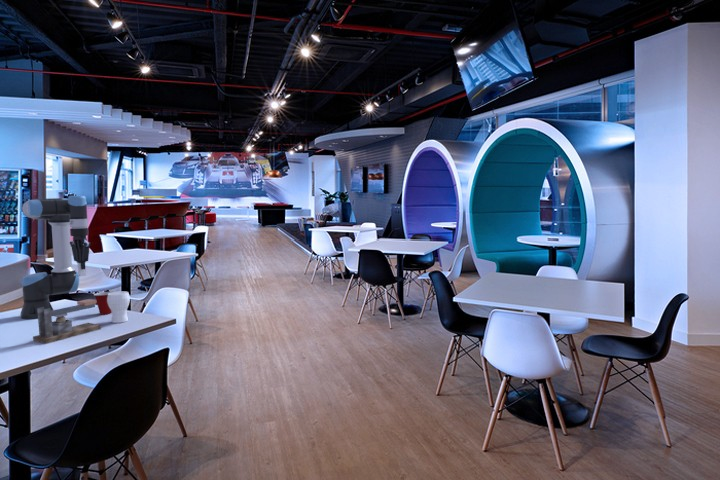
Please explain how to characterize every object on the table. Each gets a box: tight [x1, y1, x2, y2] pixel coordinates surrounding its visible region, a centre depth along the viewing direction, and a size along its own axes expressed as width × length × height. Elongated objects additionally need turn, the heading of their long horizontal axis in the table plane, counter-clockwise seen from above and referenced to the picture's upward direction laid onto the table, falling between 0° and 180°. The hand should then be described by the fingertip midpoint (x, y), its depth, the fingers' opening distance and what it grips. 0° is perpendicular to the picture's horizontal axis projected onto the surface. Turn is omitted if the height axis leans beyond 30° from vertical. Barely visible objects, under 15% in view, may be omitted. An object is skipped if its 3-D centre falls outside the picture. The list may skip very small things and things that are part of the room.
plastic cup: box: [93, 291, 113, 316], centre depth 265 cm, size 11×11×12 cm
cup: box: [107, 290, 131, 324], centre depth 249 cm, size 11×11×15 cm
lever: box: [43, 298, 97, 318], centre depth 226 cm, size 23×6×5 cm, turn 152°
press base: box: [32, 307, 102, 345], centre depth 225 cm, size 26×10×15 cm, turn 152°
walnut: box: [55, 316, 67, 323], centre depth 222 cm, size 4×4×4 cm
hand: (82, 275), depth 231 cm, fingers closed
